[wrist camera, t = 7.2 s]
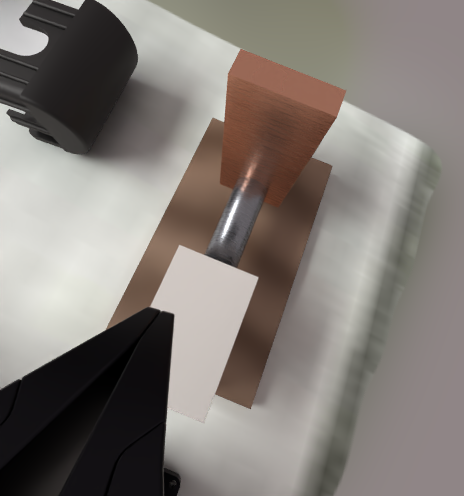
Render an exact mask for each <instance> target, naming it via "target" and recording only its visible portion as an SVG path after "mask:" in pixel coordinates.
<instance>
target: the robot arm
mask: <svg viewBox="0 0 464 496" xmlns="http://www.w3.org/2000/svg"><path fill="white" fill-rule="evenodd" d="M174 318H175V315H174V314H173V313H170V312H167V311H160V310H159V309H156V308H152V307H146V308H144V309H142V310H141V311H139V312H137V313H135V314H134V315H132V316H130V317H128V318H126V319H125V320H123V321H121V322H119V323H118V324H116V325H114V326H112V327H110V328H109V329H107V330H105V331H103V332H102V333H100V334H98V335H96V336H95V337H93V338H91V339H89V340H87V341H86V342H84V343H82V344H80V345H79V346H77V347H75V348H73V349H71V350H70V351H68V352H66V353H64V354H63V355H61V356H59V357H57V358H56V359H54V360H52V361H50V362H48V363H47V364H45V365H43V366H41V367H40V368H38V369H36V370H34V371H32V372H31V373H29V374H27V375H25V376H24V377H22V380H20V379H18V380H16V381H14V382H13V383H11V384H9V385H7V386H6V387H4V388H2V389H0V496H177V493H178V491H179V488H180V483H181V478H180V476H179V475H178V474H177V473H175V472H173V471H170V470H168V469H166V468H164V449H165V434H166V419H167V406H168V394H169V381H170V369H171V356H172V343H173V331H174ZM172 480H174V481H176V485H174V486H173V485H171V484H170V481H172Z"/></svg>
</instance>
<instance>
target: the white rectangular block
mask: <svg viewBox="0 0 464 496" xmlns="http://www.w3.org/2000/svg"><path fill="white" fill-rule="evenodd" d="M258 278H259V277H257V276H254V275H252V274H249V273H247V272H244V271H242V270H240V269H237V268H235V267H232V266H230V265H227V264H225V263H222V262H220V261H218V260H215V259H213V258H210V257H208V256H205V255H203V254H201V253H198V252H196V251H193V250H191V249H188V248H186V247H184V246H181V245H179V247H178V249H177V251H176V253H175V255H174V257H173V259H172V261H171V264H170V266H169V268H168V270H167V272H166V274H165V276H164V278H163V281H162V283H161V285H160V287H159V289H158V291H157V293H156V295H155V297H154V300H153V302H152V304H151V306H150V307H152V308H156V309H159V310H160V311H167V312H170V313H173V314H174V315H175V318H174V331H173V343H172V356H171V369H170V381H169V394H168V406H167V408H169V409H171V410H174V411H176V412H178V413H181V414H183V415H186V416H188V417H190V418H193V419H195V420H197V421H200V422H202V423H204V422H205V419H206V417H207V414H208V411H209V409H210V406H211V403H212V401H213V398H214V395H215V393H216V390H217V387H218V385H219V382H220V379H221V377H222V374H223V371H224V369H225V366H226V363H227V361H228V358H229V355H230V353H231V350H232V347H233V345H234V342H235V339H236V337H237V334H238V331H239V329H240V326H241V323H242V321H243V318H244V315H245V313H246V310H247V307H248V305H249V302H250V299H251V297H252V294H253V291H254V289H255V286H256V283H257V281H258Z"/></svg>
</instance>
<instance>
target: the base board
mask: <svg viewBox="0 0 464 496" xmlns="http://www.w3.org/2000/svg"><path fill="white" fill-rule="evenodd" d="M223 134H224V122H222V121H219V120H217V119H214V118H212V120H211V122H210V124H209V126H208V128H207V130H206V132H205V134H204V136H203V138H202V140H201V142H200V144H199V146H198V148H197V150H196V152H195V154H194V156H193V158H192V160H191V162H190V164H189V166H188V168H187V170H186V172H185V174H184V176H183V178H182V180H181V182H180V184H179V186H178V188H177V190H176V192H175V194H174V196H173V198H172V200H171V202H170V203H169V205H168V207H167V209H166V211H165V213H164V215H163V217H162V219H161V221H160V223H159V225H158V227H157V229H156V231H155V233H154V235H153V237H152V239H151V241H150V243H149V245H148V247H147V249H146V251H145V253H144V255H143V257H142V259H141V261H140V263H139V265H138V267H137V269H136V271H135V273H134V275H133V277H132V279H131V281H130V283H129V285H128V287H127V289H126V291H125V293H124V295H123V297H122V299H121V301H120V303H119V305H118V306H117V308H116V310H115V312H114V314H113V316H112V318H111V320H110V322H109V324H108V326H107V328H106V330H107V329H109V328H110V327H112V326H114V325H116V324H118V323H119V322H121V321H123V320H125V319H126V318H128V317H130V316H132V315H134V314H135V313H137V312H139V311H141V310H142V309H144V308H146V307H150V306H151V304H152V302H153V300H154V297H155V295H156V293H157V291H158V289H159V287H160V285H161V283H162V281H163V278H164V276H165V274H166V272H167V270H168V268H169V266H170V264H171V261H172V259H173V257H174V255H175V253H176V251H177V249H178V247H179V245H181V246H184V247H186V248H188V249H191V250H193V251H196V252H198V253H201V254H203V255H204V254H205V252H206V249H207V247H208V245H209V242H210V240H211V238H212V236H213V233H214V231H215V229H216V227H217V224H218V222H219V220H220V218H221V215H222V213H223V211H224V208H225V206H226V204H227V202H228V199H229V197H230V195H231V193H232V190H233V189H231V188H228V187H226V186H223V185H221V184H220V173H221V160H222V147H223ZM331 169H332V166H331V165H329V164H326V163H324V162H321V161H319V160H316V159H314V158H310V160H309V162H308V163H307V165H306V166H305V168H304V169H303V171H302V172H301V174H300V175H299V177H298V179H297V180H296V182H295V183H294V185H293V186H292V188H291V189H290V191H289V192H288V194H287V195H286V197H285V198H284V200H283V201H282V203H281V204H280V206H279V207H275V206H273V205H270V204H268V203H265V202H263V204H262V207H261V209H260V212H259V214H258V217H257V219H256V222H255V224H254V227H253V229H252V232H251V234H250V237H249V239H248V242H247V244H246V247H245V249H244V252H243V254H242V257H241V259H240V262H239V264H238V267H237V269H240V270H242V271H244V272H247V273H249V274H252V275H254V276H257V277H259V278H258V281H257V283H256V286H255V289H254V291H253V294H252V297H251V299H250V302H249V305H248V307H247V310H246V313H245V315H244V318H243V321H242V323H241V326H240V329H239V331H238V334H237V337H236V339H235V342H234V345H233V347H232V350H231V353H230V355H229V358H228V361H227V363H226V366H225V369H224V371H223V374H222V377H221V379H220V382H219V385H218V387H217V390H216V393H215V394H216V395H218V396H221V397H223V398H225V399H228V400H230V401H233V402H235V403H237V404H240V405H242V406H244V407H247V408H249V409H251V406H252V403H253V400H254V397H255V394H256V391H257V388H258V385H259V382H260V380H261V377H262V374H263V371H264V368H265V365H266V362H267V359H268V356H269V353H270V350H271V347H272V344H273V341H274V338H275V335H276V332H277V329H278V326H279V323H280V320H281V317H282V314H283V311H284V308H285V305H286V302H287V299H288V297H289V294H290V291H291V288H292V285H293V282H294V279H295V276H296V273H297V270H298V267H299V264H300V261H301V258H302V255H303V252H304V249H305V246H306V243H307V240H308V237H309V234H310V231H311V228H312V225H313V222H314V219H315V216H316V213H317V211H318V208H319V205H320V202H321V199H322V196H323V193H324V190H325V187H326V184H327V181H328V178H329V175H330V172H331Z"/></svg>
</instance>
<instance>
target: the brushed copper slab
mask: <svg viewBox="0 0 464 496" xmlns="http://www.w3.org/2000/svg"><path fill="white" fill-rule="evenodd" d="M345 93H346V91H345V90H343V89H340V88H338V87H336V86H333V85H330V84H328V83H325V82H323V81H320V80H318V79H315V78H313V77H310V76H308V75H305V74H303V73H300V72H298V71H295V70H293V69H290V68H288V67H285V66H283V65H280V64H277V63H275V62H272V61H270V60H267V59H265V58H262V57H260V56H257V55H255V54H252V53H250V52H247V51H245V50H242V49H240V51H239V53H238V55H237V57H236V59H235V61H234V63H233V65H232V67H231V69H230V71H229V73H228V81H227V94H226V107H225V121H224V134H223V147H222V160H221V173H220V184H221V185H223V186H226V187H228V188H231V189H233V190H232V193H231V195H230V197H229V199H228V202H227V204H226V206H225V208H224V211H223V213H222V215H221V218H220V220H219V222H218V224H217V227H216V229H215V231H214V233H213V236H212V238H211V240H210V242H209V245H208V247H207V249H206V252H205V254H204V255H205V256H208V257H210V258H213V259H215V260H218V261H220V262H222V263H225V264H227V265H230V266H232V267H235V268H237V267H238V264H239V262H240V259H241V257H242V254H243V252H244V249H245V247H246V244H247V242H248V239H249V237H250V234H251V232H252V229H253V227H254V224H255V222H256V219H257V217H258V214H259V212H260V209H261V207H262V204H263V202H265V203H268V204H270V205H273V206H275V207H279V206H280V204H281V203H282V201H283V200H284V198H285V197H286V195H287V193H288V192H289V190H290V189H291V187H292V186H293V184H294V183H295V181H296V180H297V178H298V176H299V175H300V173H301V172H302V170H303V169H304V167H305V166H306V164H307V162H308V161H309V159H310V158H311V156H312V155H313V153H314V152H315V150H316V149H317V147H318V145H319V144H320V142H321V141H322V139H323V138H324V136H325V135H326V133H327V132H328V130H329V128H330V127H331V125H332V124H333V122H334V121H335V119H336V118H337V115H338V112H339V110H340V107H341V104H342V101H343V98H344V95H345Z"/></svg>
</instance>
